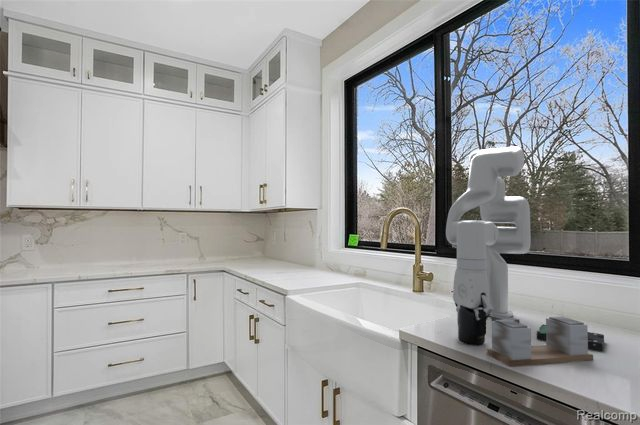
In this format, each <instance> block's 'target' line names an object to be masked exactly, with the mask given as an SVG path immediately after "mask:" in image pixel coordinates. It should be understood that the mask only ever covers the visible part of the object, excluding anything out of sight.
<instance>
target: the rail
mask: <svg viewBox="0 0 640 425" xmlns="http://www.w3.org/2000/svg"><path fill="white" fill-rule="evenodd" d="M545 325H546V341H545V344H540V345H532V328H531V327H529V326H528V325H526V324H523V323H520V322H519V323H518V322H515V321H512V320H510V319H503V320H495V321H492V320H491V348H487V349H486V354H487V355H488V356H490V357H492V358H494V359H495V360H498V361H499V362H501V363H502V364H505V365H506V366H509V367H519V366H521V367H522V366H534V365H546V364H557V363H569V362H571V363H572V362H582V361H593V360H594V354H592V353H589V352H588V351H589V349H588V332H589V331H588V324H586V323H585V322H583V321H578V320H576V319H572V318H569V317H565V316H550V317H547V318H545Z"/></svg>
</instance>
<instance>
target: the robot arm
mask: <svg viewBox="0 0 640 425" xmlns="http://www.w3.org/2000/svg"><path fill="white" fill-rule="evenodd" d="M468 162H469V163H468V164H469V172H468V180H467V188H466V192H463V194H461V195H460V196H459V197H458V198H457V199H456V200H455V201H454V202H453V204H452V205H451V207H450V209H449V211H448V213H447V220H446V226H445V237H446V240H447V242H448V243H450V244H451V245H455V246H456V268H455V271H454V272H455V273H454V278H453V286H452V287H453V288H452V289H453V290H452V291H453V292H452V293H453V294H452V300H453V302H454V304H455V307H456V309H455V310H456V312H457V313H458V309H459V308H460V307H461V306H464V307H466V308H469V309H474V313H475V316H476V319H474V334H475V335H485V336H486V335H487V320H489V317H492V316H496V315H502V316H507V317H511V318H512V317H513V316H514V312H513V311H512V310H510V309H509V267H508V264H507V262H506V261H505V259H504V258H503V257H502V256H501V254H513V255H521V254H522V255H524V254H527V253H529V252H530V248H531V238H532V236H531V211H530V210H531V208H530V204H529V201H528V199H527V198H525V197H523V196H507V195H506V182H505V180H504V179H503V177H505V178H506V177H515V176H516V177H517V176H518V175H519V174H520V173H521V171H522V169H523V167H524V164H525V153H524V150H523V149H522V148H521V146H506V147H495V148H485V149H478V150H475V151H472V152H471V153H470V155H469V157H468ZM478 207H479V210H480V211H479V212H480V218H481V220H475V219H474V220H470V219H469V220H467V219H465V220H463V219H461V217H462V216H463V215H464V214H465V213H467V212H468V211H470V210H472V209H475V208H478ZM496 224H513V225H515V226H497V225H496ZM478 306H480V307H478ZM478 310H481V313H480V314H479V311H478Z"/></svg>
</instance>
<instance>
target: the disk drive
mask: <svg viewBox="0 0 640 425" xmlns="http://www.w3.org/2000/svg"><path fill="white" fill-rule="evenodd" d="M536 340H538V341H543V342H546V324H541V326H539V329H538V330H536ZM604 346H605V335H604V334H601V333H596V332H589V331H588V350H591V351H597V352H603V351H604Z"/></svg>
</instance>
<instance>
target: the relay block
mask: <svg viewBox="0 0 640 425" xmlns="http://www.w3.org/2000/svg"><path fill="white" fill-rule="evenodd" d="M503 319H510V320H512V321H515V322H518V323H520V319H519V318H515V317H512V316H511V317H507V316H502V315H496V316H491V322H492V321H495V320H503Z"/></svg>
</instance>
